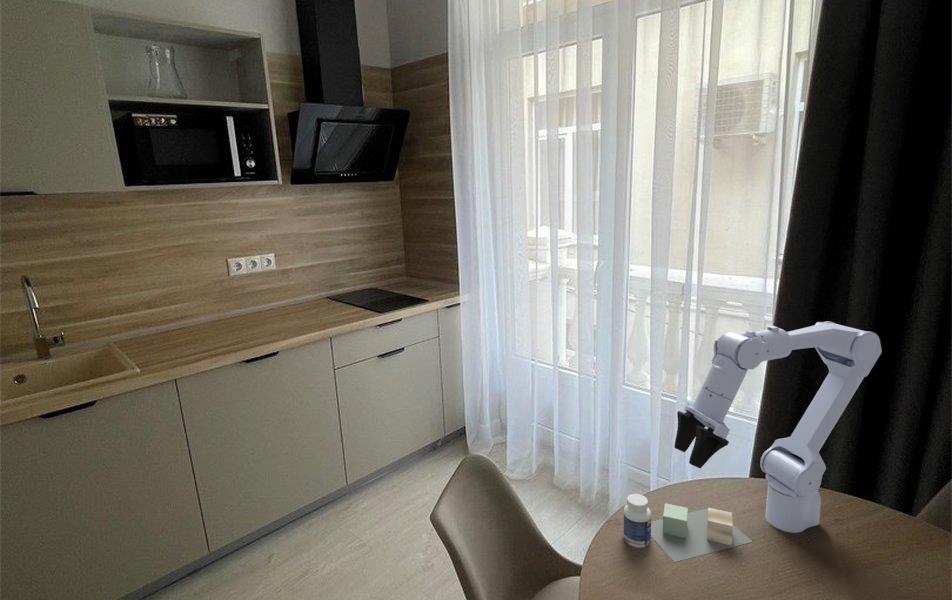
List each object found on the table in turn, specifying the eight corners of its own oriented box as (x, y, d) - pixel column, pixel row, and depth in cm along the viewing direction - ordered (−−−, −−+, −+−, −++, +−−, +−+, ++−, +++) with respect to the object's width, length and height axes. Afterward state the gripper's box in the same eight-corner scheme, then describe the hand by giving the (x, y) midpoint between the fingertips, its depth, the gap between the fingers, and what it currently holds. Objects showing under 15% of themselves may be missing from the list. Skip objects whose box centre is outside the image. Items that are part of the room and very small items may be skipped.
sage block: (664, 519, 105) (665, 503, 104) (687, 524, 103) (687, 508, 102) (662, 532, 101) (663, 515, 100) (686, 538, 99) (686, 521, 98)
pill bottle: (652, 552, 97) (653, 508, 95) (624, 549, 98) (624, 506, 96) (648, 533, 102) (649, 492, 100) (622, 531, 103) (622, 490, 101)
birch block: (707, 526, 102) (708, 507, 101) (730, 531, 100) (732, 512, 99) (706, 539, 98) (707, 520, 97) (731, 545, 96) (732, 525, 95)
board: (711, 510, 108) (712, 507, 108) (752, 545, 97) (752, 541, 97) (640, 527, 104) (640, 524, 104) (674, 565, 93) (674, 562, 93)
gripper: (683, 376, 99) (655, 435, 100) (714, 395, 84) (681, 464, 86) (715, 389, 99) (687, 449, 100) (752, 411, 84) (718, 480, 86)
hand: (686, 457), depth 93 cm, fingers open, 7 cm apart
